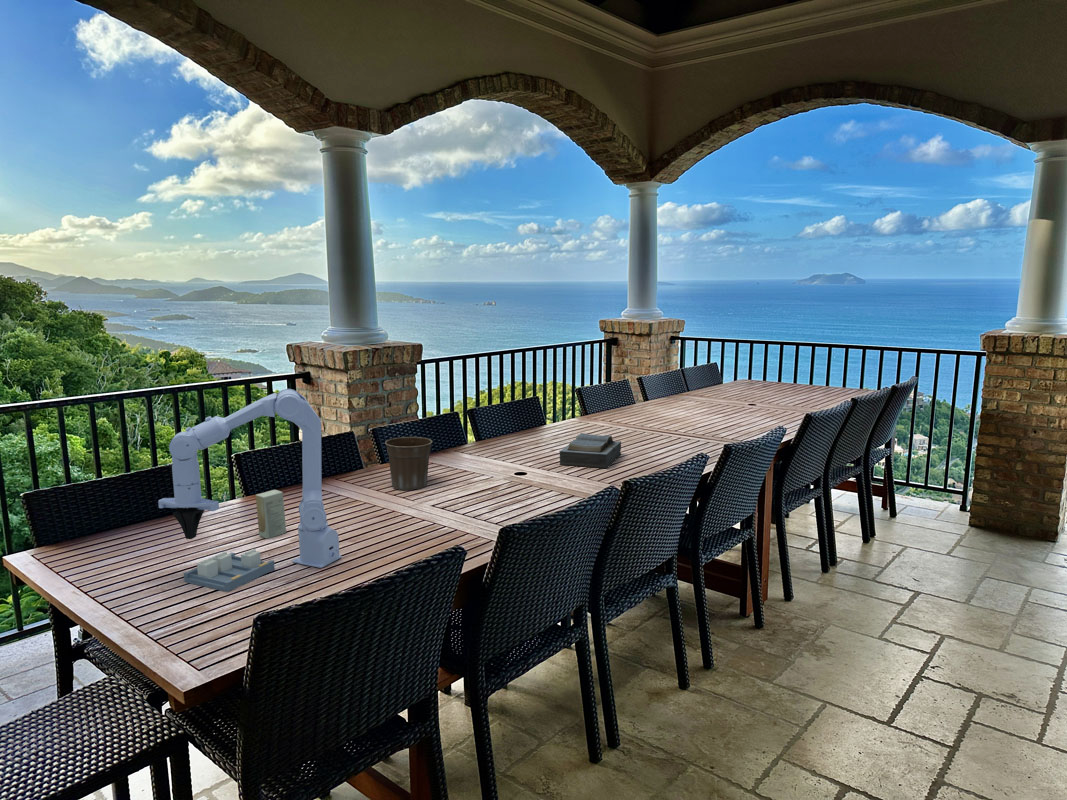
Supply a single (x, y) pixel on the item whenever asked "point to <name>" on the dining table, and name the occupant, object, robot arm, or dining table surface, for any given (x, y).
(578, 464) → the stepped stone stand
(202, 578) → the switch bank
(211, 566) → the tab
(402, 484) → the plant pot
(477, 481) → the dining table surface
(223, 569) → the tab
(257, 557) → the tab
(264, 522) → the skincare box
